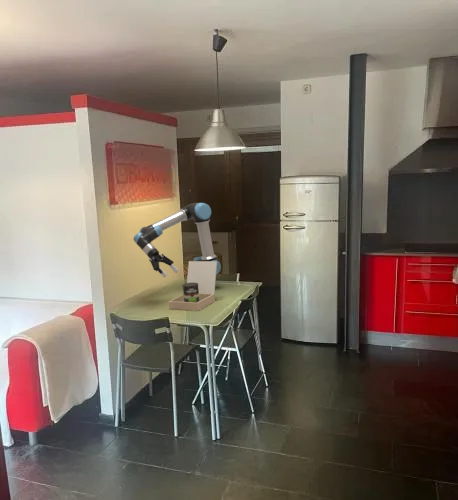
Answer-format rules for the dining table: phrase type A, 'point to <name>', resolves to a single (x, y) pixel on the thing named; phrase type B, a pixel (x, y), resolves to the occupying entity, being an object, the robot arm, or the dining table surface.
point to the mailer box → (206, 284)
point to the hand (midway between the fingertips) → (171, 274)
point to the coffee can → (191, 292)
